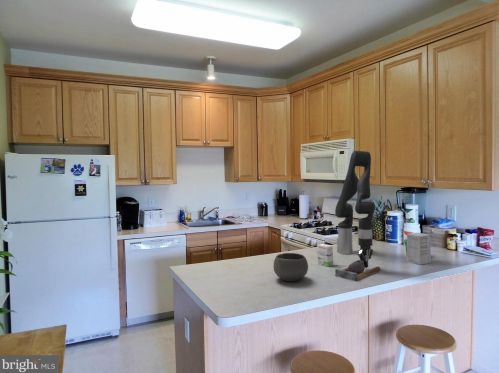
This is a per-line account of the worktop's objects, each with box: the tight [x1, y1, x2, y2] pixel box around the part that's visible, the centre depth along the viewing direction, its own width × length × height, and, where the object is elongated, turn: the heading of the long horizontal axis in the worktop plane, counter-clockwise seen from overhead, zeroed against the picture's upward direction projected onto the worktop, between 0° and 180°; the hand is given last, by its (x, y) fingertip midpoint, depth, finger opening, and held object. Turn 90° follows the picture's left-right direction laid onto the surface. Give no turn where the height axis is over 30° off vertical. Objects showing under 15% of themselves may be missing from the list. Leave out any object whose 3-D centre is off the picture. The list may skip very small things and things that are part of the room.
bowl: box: [273, 252, 309, 282], centre depth 178 cm, size 18×18×13 cm
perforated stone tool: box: [346, 259, 366, 275], centre depth 183 cm, size 15×5×7 cm, turn 129°
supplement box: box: [406, 232, 432, 266], centre depth 203 cm, size 10×9×17 cm
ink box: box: [316, 243, 334, 267], centre depth 203 cm, size 9×5×12 cm, turn 34°
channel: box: [334, 266, 381, 282], centre depth 185 cm, size 12×25×4 cm, turn 131°
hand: (365, 267), depth 191 cm, fingers closed
